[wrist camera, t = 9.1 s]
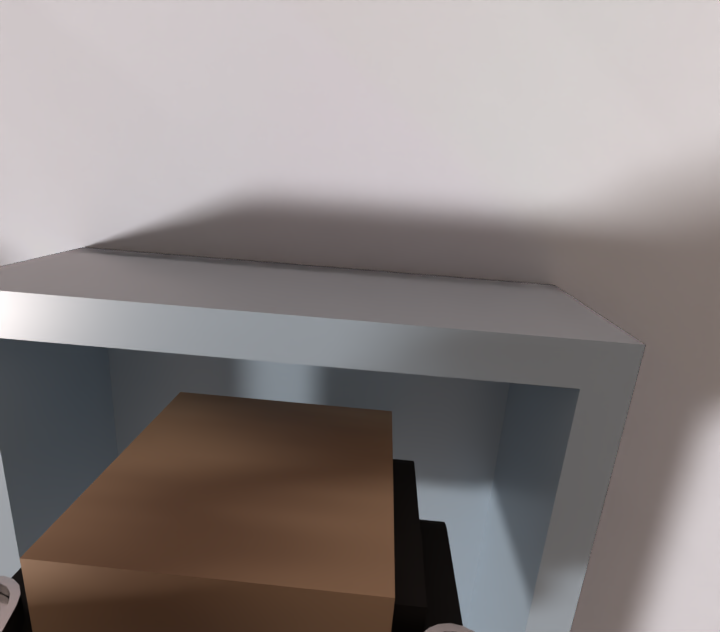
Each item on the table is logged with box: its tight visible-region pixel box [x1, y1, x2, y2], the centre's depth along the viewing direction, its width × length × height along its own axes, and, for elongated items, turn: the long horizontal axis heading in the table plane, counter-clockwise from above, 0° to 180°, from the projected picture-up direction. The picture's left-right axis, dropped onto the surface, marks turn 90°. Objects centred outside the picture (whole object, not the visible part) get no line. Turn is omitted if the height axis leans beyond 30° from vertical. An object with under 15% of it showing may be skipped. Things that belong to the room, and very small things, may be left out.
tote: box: [0, 247, 646, 632], centre depth 14 cm, size 14×18×5 cm
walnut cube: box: [20, 392, 395, 632], centre depth 9 cm, size 5×5×5 cm
